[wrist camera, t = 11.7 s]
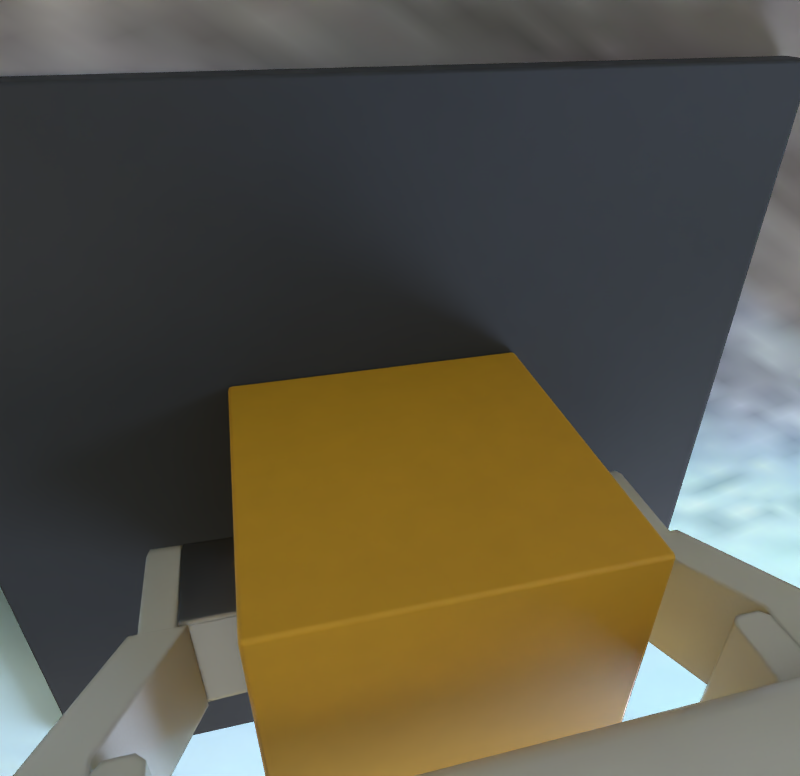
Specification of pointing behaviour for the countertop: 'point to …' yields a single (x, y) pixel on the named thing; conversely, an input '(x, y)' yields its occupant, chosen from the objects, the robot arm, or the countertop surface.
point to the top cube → (430, 569)
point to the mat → (345, 281)
